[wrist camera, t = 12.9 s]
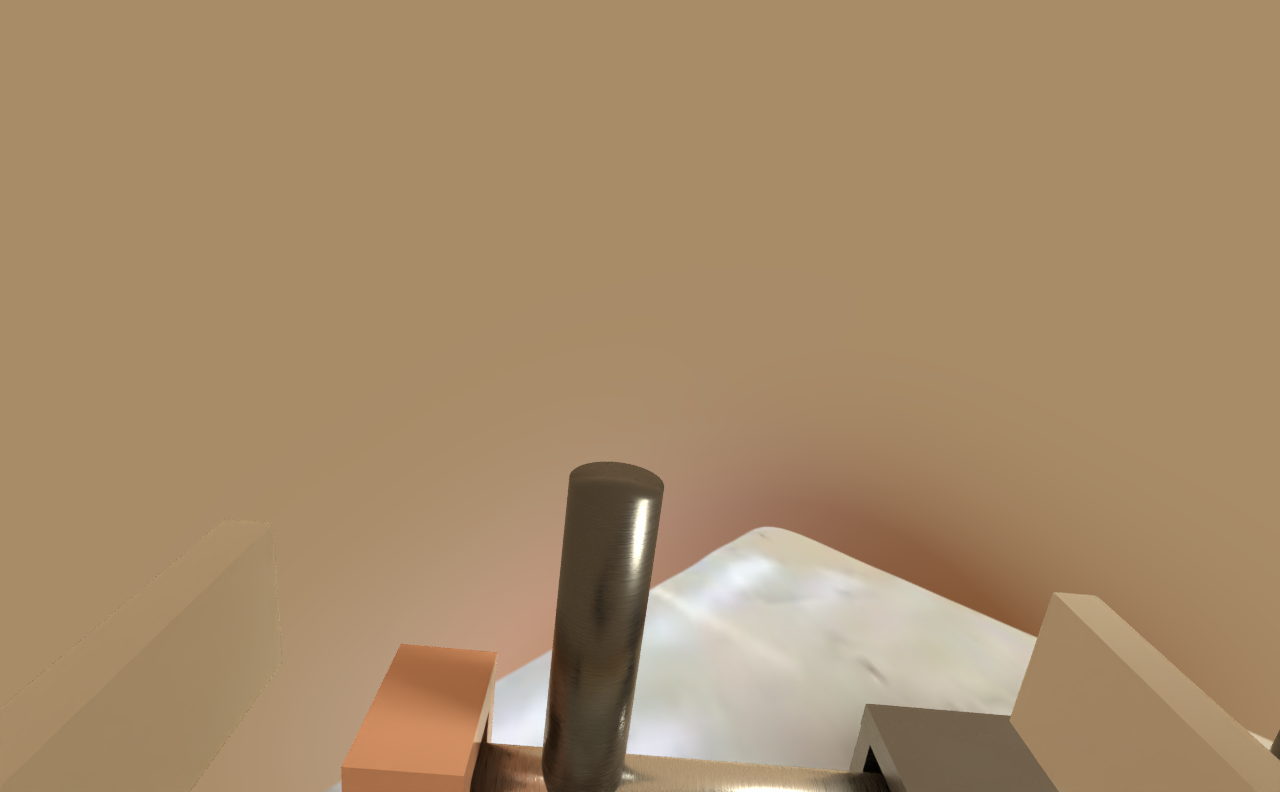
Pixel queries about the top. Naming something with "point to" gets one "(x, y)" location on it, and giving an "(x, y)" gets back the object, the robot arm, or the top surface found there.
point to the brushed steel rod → (618, 664)
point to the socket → (425, 723)
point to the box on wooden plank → (946, 752)
